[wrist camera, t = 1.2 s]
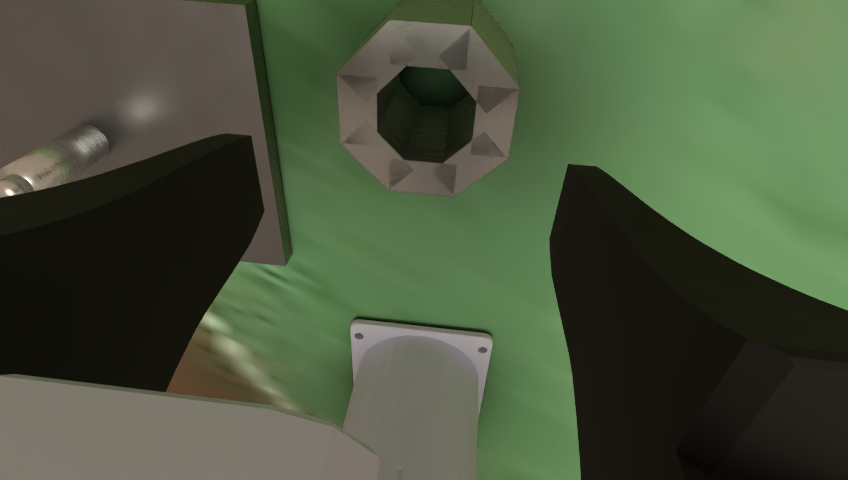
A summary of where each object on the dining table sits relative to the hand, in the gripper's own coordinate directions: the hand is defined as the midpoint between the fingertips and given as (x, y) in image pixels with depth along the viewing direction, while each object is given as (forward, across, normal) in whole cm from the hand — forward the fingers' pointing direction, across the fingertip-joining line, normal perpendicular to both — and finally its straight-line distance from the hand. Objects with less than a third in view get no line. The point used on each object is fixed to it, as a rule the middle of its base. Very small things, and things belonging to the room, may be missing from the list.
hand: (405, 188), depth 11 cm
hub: (+9, 0, 0) cm, 9 cm away
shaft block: (+9, +15, +4) cm, 18 cm away
